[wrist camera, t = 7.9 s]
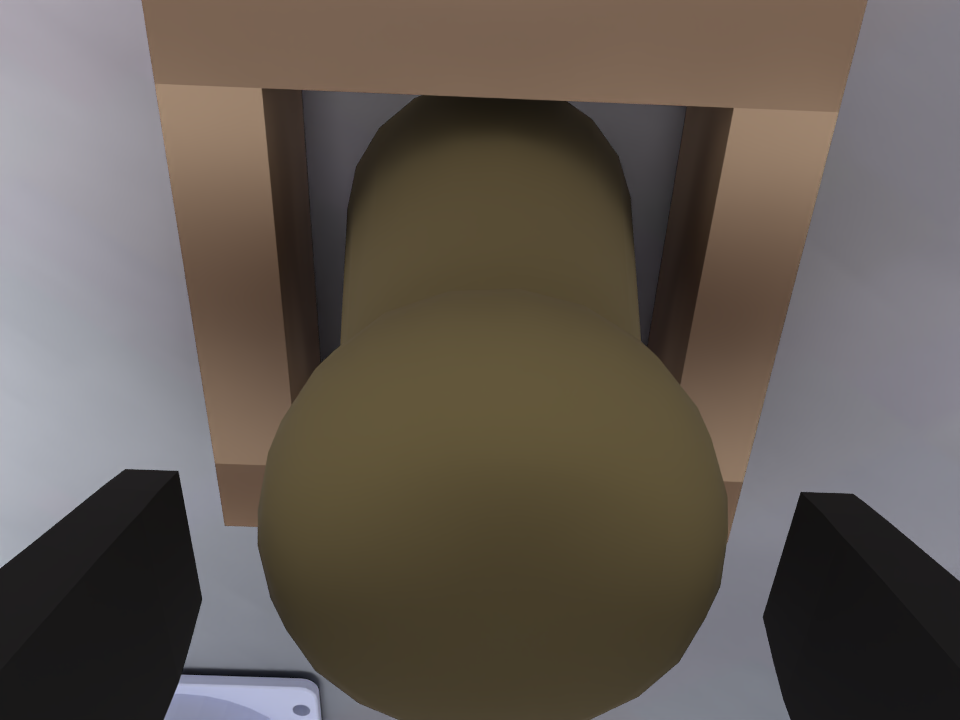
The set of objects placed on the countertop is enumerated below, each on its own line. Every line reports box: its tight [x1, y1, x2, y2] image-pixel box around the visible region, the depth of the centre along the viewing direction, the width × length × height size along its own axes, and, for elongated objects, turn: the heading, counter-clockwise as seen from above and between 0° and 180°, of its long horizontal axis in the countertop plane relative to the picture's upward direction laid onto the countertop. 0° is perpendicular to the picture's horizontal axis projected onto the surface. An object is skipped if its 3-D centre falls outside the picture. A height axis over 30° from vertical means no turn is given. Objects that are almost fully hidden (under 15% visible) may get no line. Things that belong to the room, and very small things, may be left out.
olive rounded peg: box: [258, 95, 728, 720], centre depth 12 cm, size 6×6×11 cm
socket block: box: [142, 0, 868, 542], centre depth 16 cm, size 11×11×3 cm
